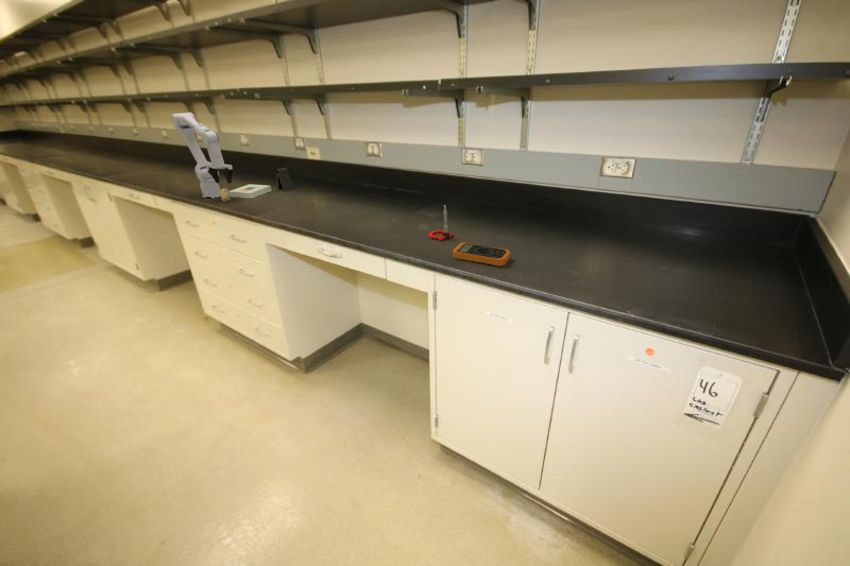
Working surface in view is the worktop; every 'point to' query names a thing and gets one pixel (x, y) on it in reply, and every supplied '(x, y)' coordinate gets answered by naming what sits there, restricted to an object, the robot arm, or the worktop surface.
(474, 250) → the multimeter
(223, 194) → the cylinder
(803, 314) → the worktop surface
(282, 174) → the phone stand
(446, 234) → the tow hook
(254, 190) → the plate
